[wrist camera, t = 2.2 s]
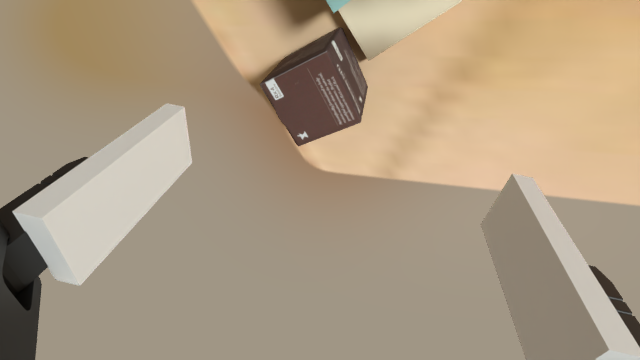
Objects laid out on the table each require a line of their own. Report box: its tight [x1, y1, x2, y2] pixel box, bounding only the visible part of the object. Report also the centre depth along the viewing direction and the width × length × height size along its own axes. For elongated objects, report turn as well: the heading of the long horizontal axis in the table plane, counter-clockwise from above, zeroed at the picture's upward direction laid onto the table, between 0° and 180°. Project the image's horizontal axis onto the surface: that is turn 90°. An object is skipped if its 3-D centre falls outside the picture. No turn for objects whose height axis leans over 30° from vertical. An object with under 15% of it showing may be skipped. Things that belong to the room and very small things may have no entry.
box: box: [260, 28, 368, 146], centre depth 27 cm, size 6×6×7 cm
